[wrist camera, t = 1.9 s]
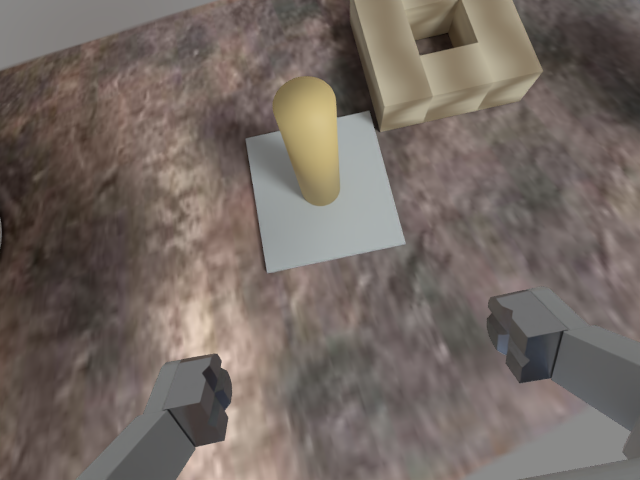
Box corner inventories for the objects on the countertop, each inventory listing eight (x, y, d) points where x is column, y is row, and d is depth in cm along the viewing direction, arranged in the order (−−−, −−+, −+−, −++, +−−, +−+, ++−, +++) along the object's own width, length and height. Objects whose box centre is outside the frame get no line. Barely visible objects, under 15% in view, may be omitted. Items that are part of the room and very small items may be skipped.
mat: (268, 273, 27) (267, 272, 26) (246, 140, 30) (245, 138, 29) (404, 244, 26) (405, 243, 26) (369, 113, 29) (369, 110, 29)
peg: (305, 209, 27) (278, 138, 16) (298, 174, 28) (268, 84, 17) (343, 201, 27) (341, 124, 16) (335, 166, 28) (328, 70, 17)
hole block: (380, 132, 29) (384, 106, 25) (349, 21, 32) (350, -15, 28) (519, 100, 28) (543, 71, 25) (475, -8, 31) (491, -48, 28)
